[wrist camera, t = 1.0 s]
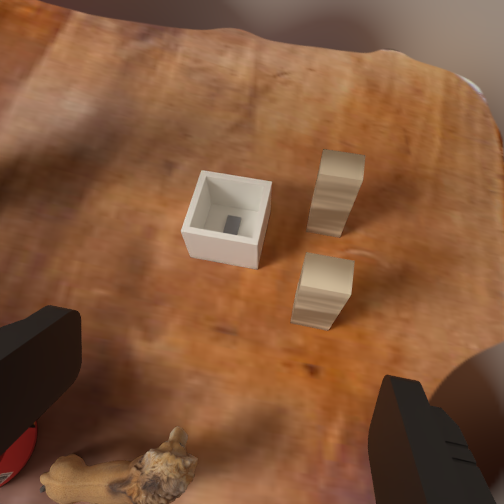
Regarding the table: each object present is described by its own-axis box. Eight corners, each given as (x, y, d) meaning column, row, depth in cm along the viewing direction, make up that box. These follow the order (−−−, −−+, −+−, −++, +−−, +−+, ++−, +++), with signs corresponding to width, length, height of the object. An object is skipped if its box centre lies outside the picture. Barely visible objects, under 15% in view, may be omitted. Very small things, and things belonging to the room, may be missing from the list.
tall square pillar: (328, 330, 40) (351, 294, 30) (290, 322, 40) (300, 285, 30) (331, 303, 41) (354, 260, 31) (294, 296, 41) (306, 252, 32)
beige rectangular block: (339, 237, 45) (362, 180, 35) (306, 231, 45) (319, 173, 35) (342, 216, 46) (365, 155, 36) (309, 210, 46) (323, 148, 36)
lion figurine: (203, 425, 36) (187, 422, 28) (211, 490, 34) (196, 507, 25) (45, 457, 35) (-19, 463, 27) (41, 527, 33) (-30, 556, 24)
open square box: (257, 269, 43) (257, 245, 38) (190, 257, 44) (180, 231, 38) (270, 211, 46) (272, 181, 41) (208, 200, 47) (201, 170, 42)
